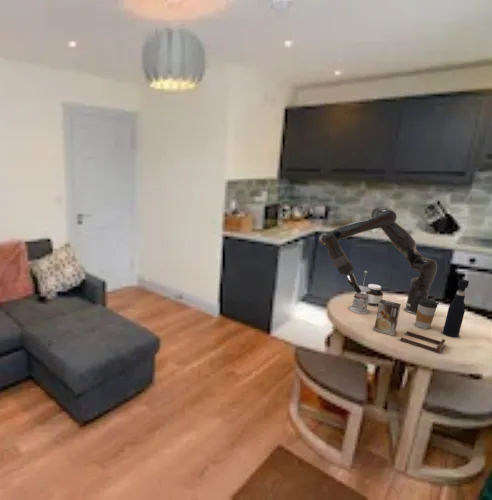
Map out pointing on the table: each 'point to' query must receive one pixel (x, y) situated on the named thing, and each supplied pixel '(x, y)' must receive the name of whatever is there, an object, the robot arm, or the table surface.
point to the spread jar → (374, 294)
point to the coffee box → (387, 317)
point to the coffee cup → (425, 313)
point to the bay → (438, 349)
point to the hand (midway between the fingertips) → (359, 292)
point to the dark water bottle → (456, 311)
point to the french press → (359, 304)
